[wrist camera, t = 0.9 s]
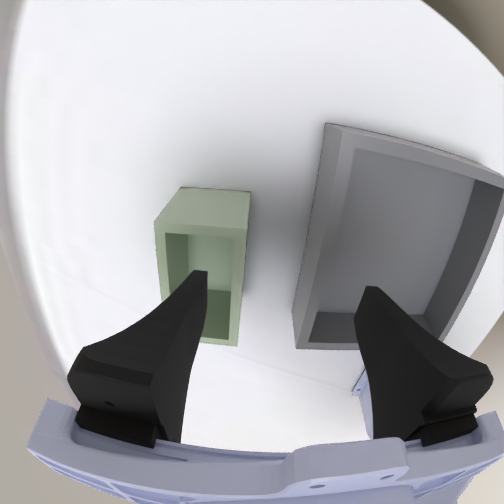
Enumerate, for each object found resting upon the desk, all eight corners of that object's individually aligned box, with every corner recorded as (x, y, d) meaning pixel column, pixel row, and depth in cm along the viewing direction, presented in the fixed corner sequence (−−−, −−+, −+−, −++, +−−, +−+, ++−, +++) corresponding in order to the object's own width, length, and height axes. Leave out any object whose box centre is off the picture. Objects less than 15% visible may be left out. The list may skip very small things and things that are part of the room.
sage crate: (242, 293, 25) (237, 346, 20) (184, 288, 25) (167, 338, 20) (250, 191, 21) (246, 229, 15) (181, 187, 21) (154, 221, 15)
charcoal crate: (423, 315, 26) (439, 346, 22) (291, 310, 26) (295, 348, 22) (479, 163, 18) (513, 181, 14) (325, 122, 18) (342, 130, 14)
